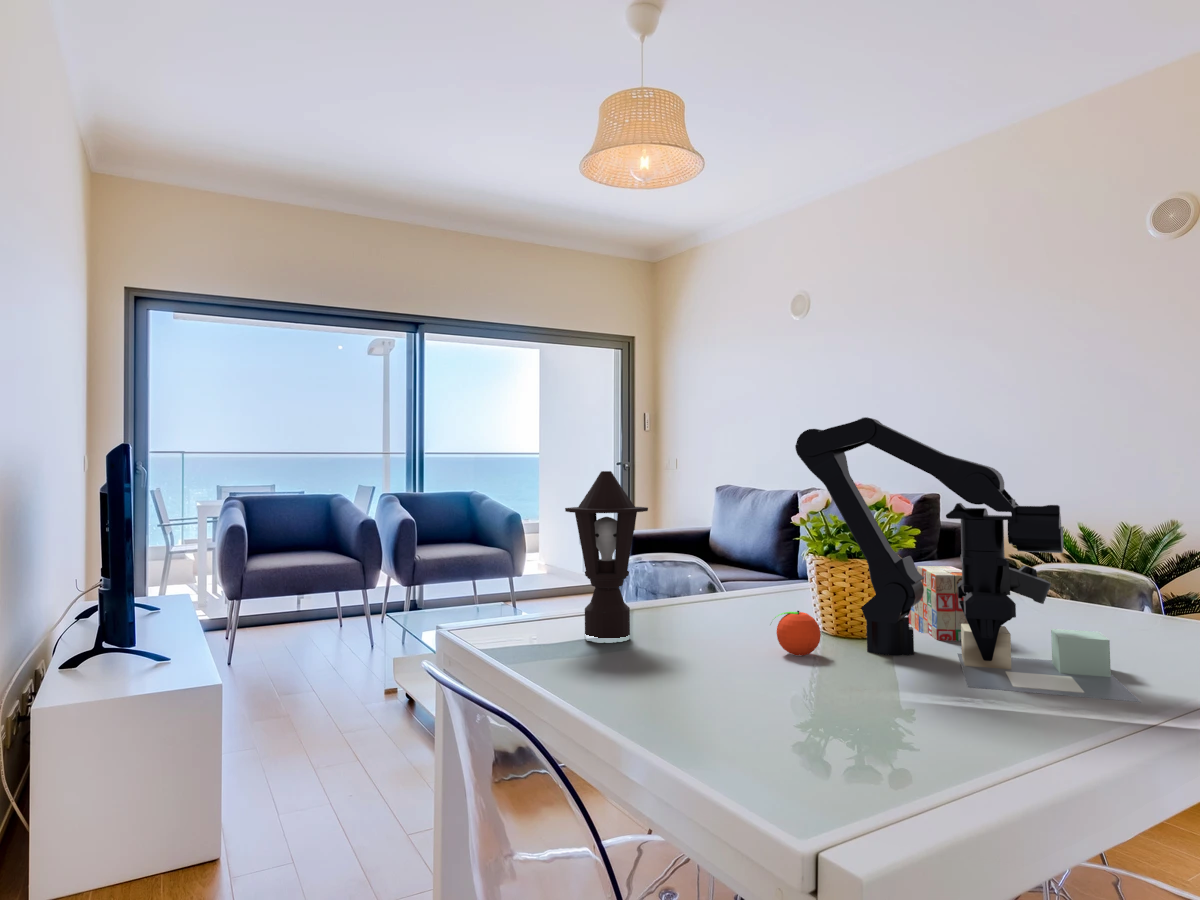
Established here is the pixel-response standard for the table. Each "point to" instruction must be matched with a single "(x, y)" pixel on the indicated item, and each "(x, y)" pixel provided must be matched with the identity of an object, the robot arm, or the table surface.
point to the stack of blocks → (939, 604)
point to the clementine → (798, 633)
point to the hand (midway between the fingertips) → (985, 655)
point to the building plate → (1044, 680)
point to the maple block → (974, 656)
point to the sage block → (1081, 652)
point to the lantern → (606, 554)
